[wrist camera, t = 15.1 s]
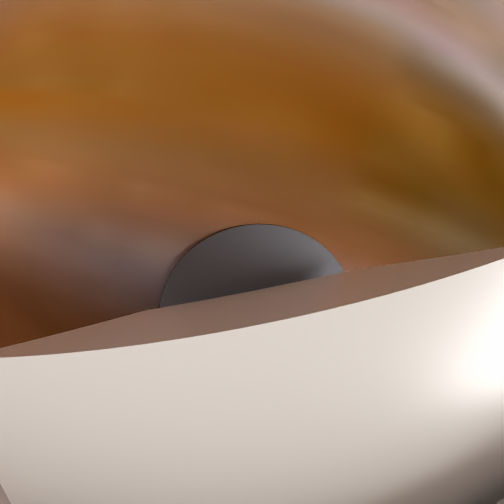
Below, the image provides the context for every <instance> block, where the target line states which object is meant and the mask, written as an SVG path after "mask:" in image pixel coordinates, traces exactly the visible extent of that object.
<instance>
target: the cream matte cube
mask: <svg viewBox="0 0 504 504" xmlns="http://www.w3.org/2000/svg"><path fill="white" fill-rule="evenodd" d="M0 484H1V486H2V488H3V490H4V492H5V494H6V495H7V497H8V499H9V501H10V502H11V504H496V503H497V502H499V501H500V500H501V499H503V498H504V247H502V248H496V249H490V250H484V251H478V252H472V253H465V254H459V255H452V256H446V257H439V258H432V259H425V260H419V261H412V262H405V263H397V264H390V265H383V266H375V267H368V268H360V269H354V270H349V271H345V272H340V273H336V274H331V275H327V276H322V277H317V278H313V279H308V280H303V281H299V282H294V283H289V284H284V285H279V286H274V287H269V288H264V289H259V290H254V291H249V292H244V293H239V294H234V295H228V296H223V297H218V298H212V299H207V300H201V301H196V302H190V303H185V304H179V305H173V306H168V307H162V308H156V309H150V310H145V311H141V312H138V313H134V314H130V315H127V316H123V317H119V318H116V319H112V320H108V321H105V322H101V323H97V324H93V325H90V326H86V327H82V328H78V329H74V330H71V331H67V332H63V333H59V334H55V335H51V336H47V337H43V338H39V339H36V340H32V341H28V342H24V343H19V344H15V345H11V346H7V347H3V348H0Z"/></svg>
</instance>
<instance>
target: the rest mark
mask: <svg viewBox="0 0 504 504" xmlns="http://www.w3.org/2000/svg"><path fill="white" fill-rule="evenodd" d="M340 272H344V271H343V269H342V267H341V266H340V264H339V263H338V261H337V260H336V259H335V258H334V256H333V255H332V254H331V253H330V252H329V251H328V250H327V249H326V248H325V247H324V246H322V245H321V244H320V243H318V242H317V241H315V240H314V239H313V238H311V237H309V236H307V235H305V234H303V233H301V232H299V231H296V230H293V229H290V228H287V227H283V226H278V225H270V224H251V225H242V226H238V227H233V228H229V229H227V230H224V231H221V232H218V233H216V234H214V235H212V236H210V237H208V238H206V239H205V240H203V241H202V242H200V243H199V244H197V245H196V246H194V247H193V248H192V249H191V250H190V251H189V252H188V253H187V254H186V255H184V256H183V258H182V259H181V260H180V261H179V263H178V264H177V265H176V266H175V268H174V269H173V271H172V273H171V274H170V276H169V278H168V280H167V282H166V285H165V287H164V290H163V293H162V297H161V301H160V307H159V308H162V307H168V306H173V305H179V304H185V303H190V302H196V301H201V300H207V299H212V298H218V297H223V296H228V295H234V294H239V293H244V292H249V291H254V290H259V289H264V288H269V287H274V286H279V285H284V284H289V283H294V282H299V281H303V280H308V279H313V278H317V277H322V276H327V275H331V274H336V273H340Z"/></svg>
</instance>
